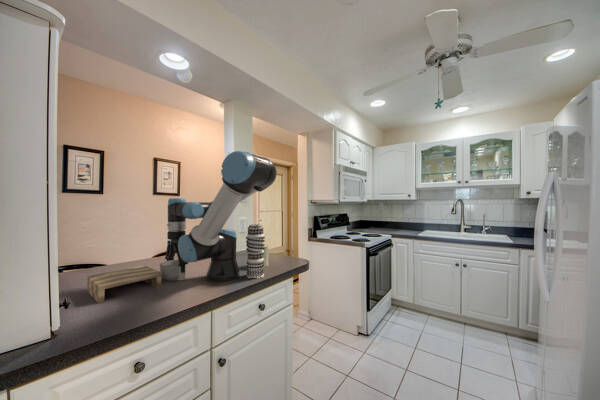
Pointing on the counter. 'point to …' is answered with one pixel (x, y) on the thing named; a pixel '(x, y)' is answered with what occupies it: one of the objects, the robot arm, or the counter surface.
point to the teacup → (170, 270)
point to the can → (265, 255)
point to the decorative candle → (255, 251)
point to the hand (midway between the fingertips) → (176, 277)
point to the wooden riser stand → (121, 280)
